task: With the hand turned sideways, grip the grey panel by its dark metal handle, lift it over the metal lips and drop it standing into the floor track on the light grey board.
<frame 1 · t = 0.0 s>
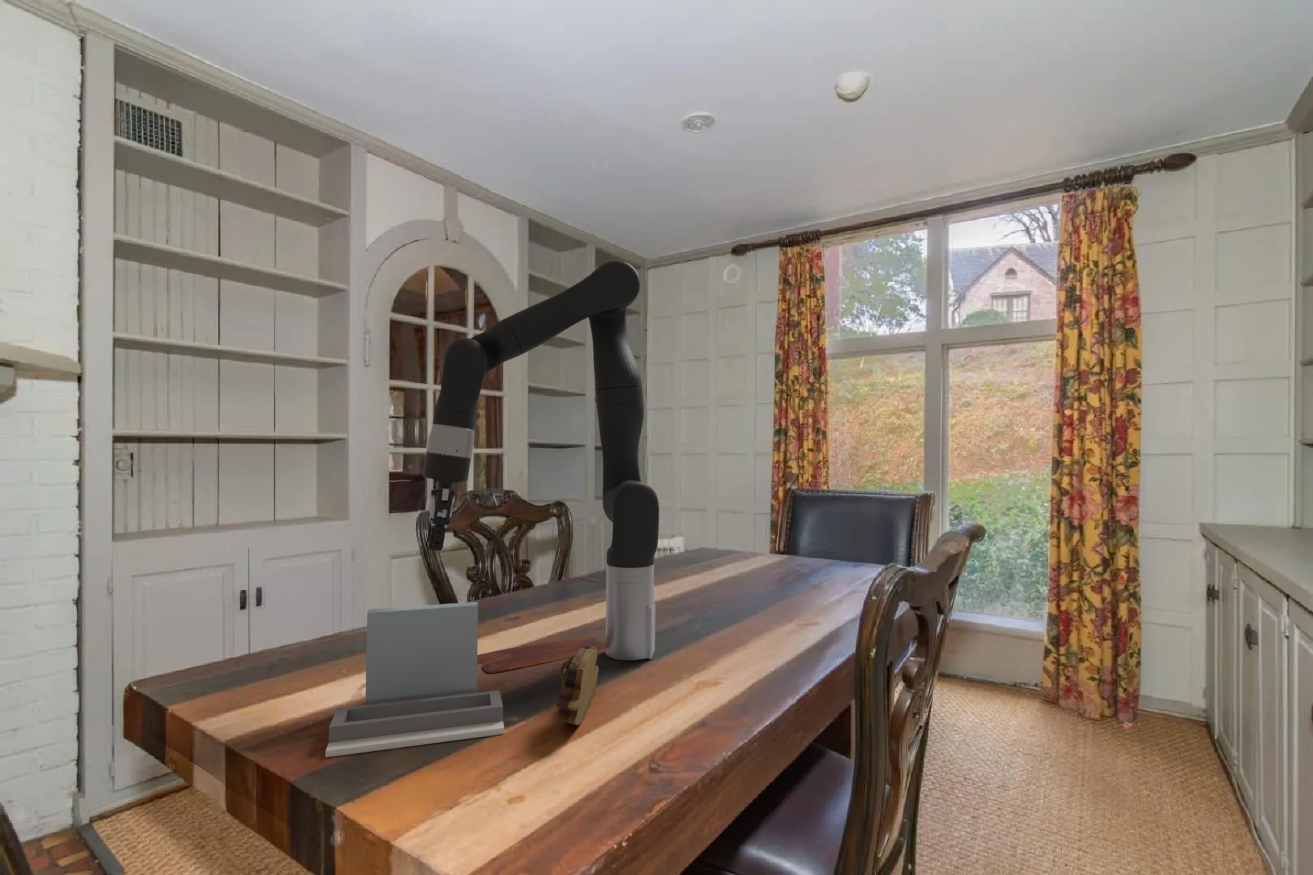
hand: (434, 546, 108), 22 cm above the table, tool pointing down, fingers open, 8 cm apart
track: (420, 727, 88), on the table
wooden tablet: (545, 657, 121), on the table
grey panel: (422, 701, 97), on the table
wooden carving: (577, 719, 91), on the table
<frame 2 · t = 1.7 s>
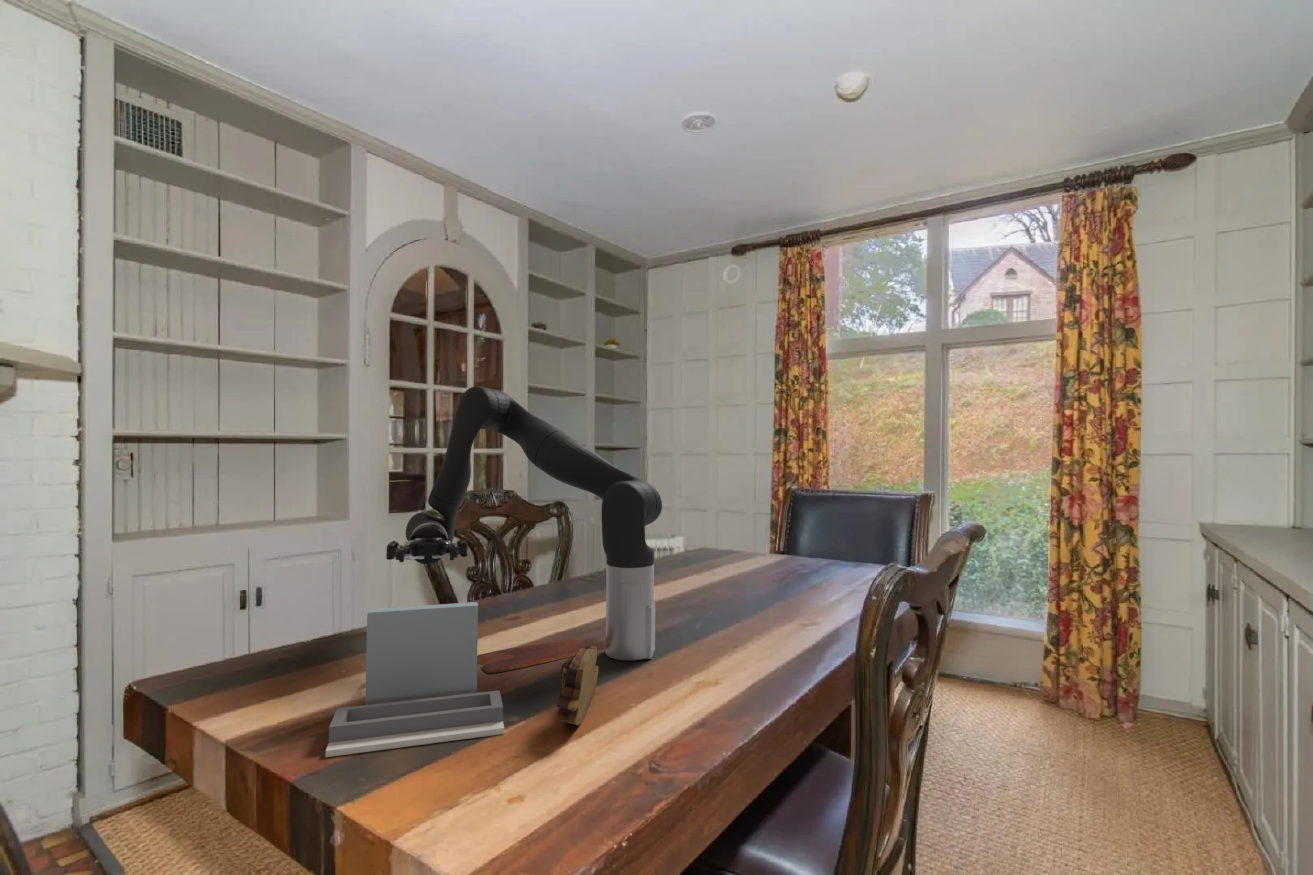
hand: (427, 555, 112), 20 cm above the table, tool horizontal, fingers open, 8 cm apart
nothing on the table moved.
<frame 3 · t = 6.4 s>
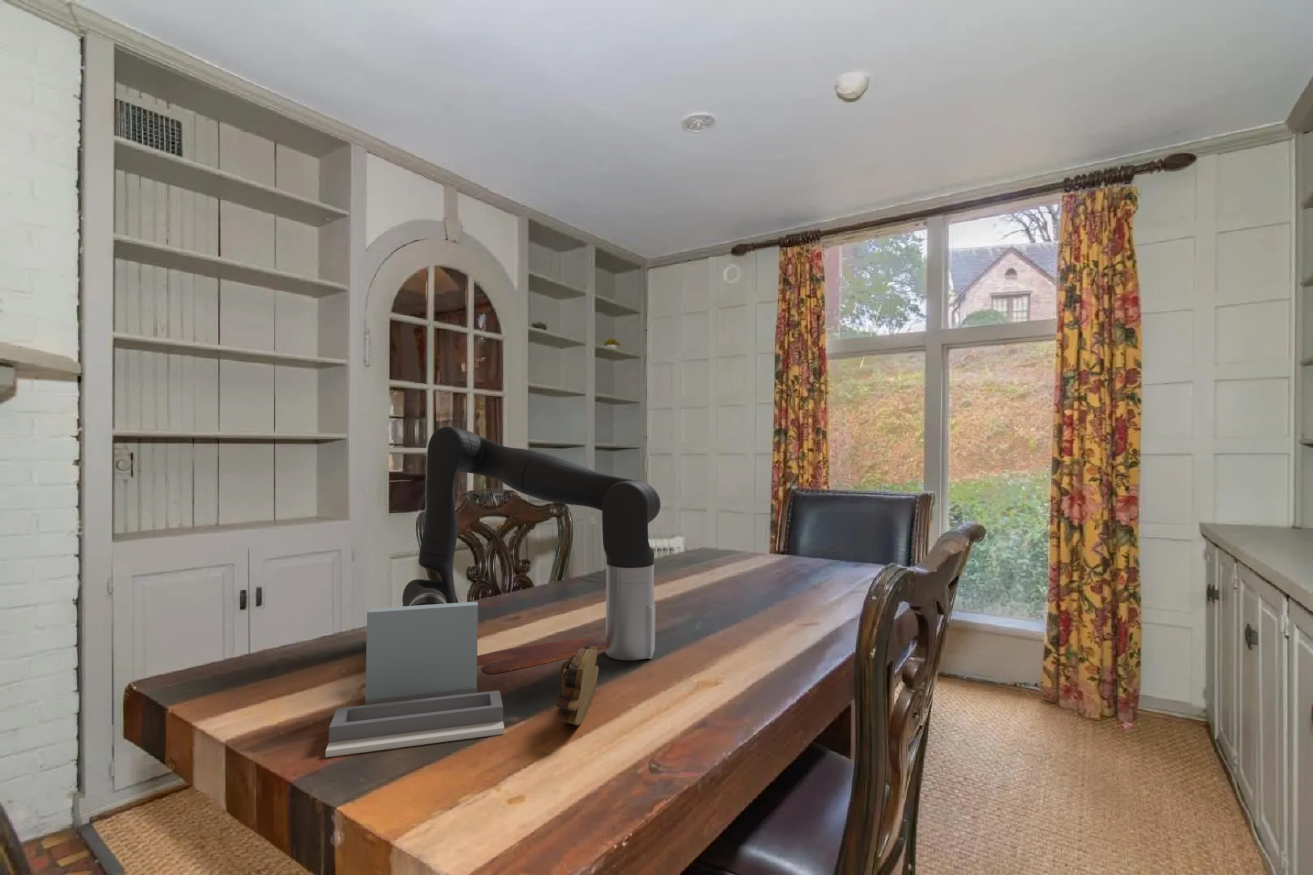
hand: (424, 643, 100), 8 cm above the table, tool horizontal, fingers closed on grey panel, 2 cm apart
grey panel: (422, 700, 97), on the table, touching gripper
everything else where it was.
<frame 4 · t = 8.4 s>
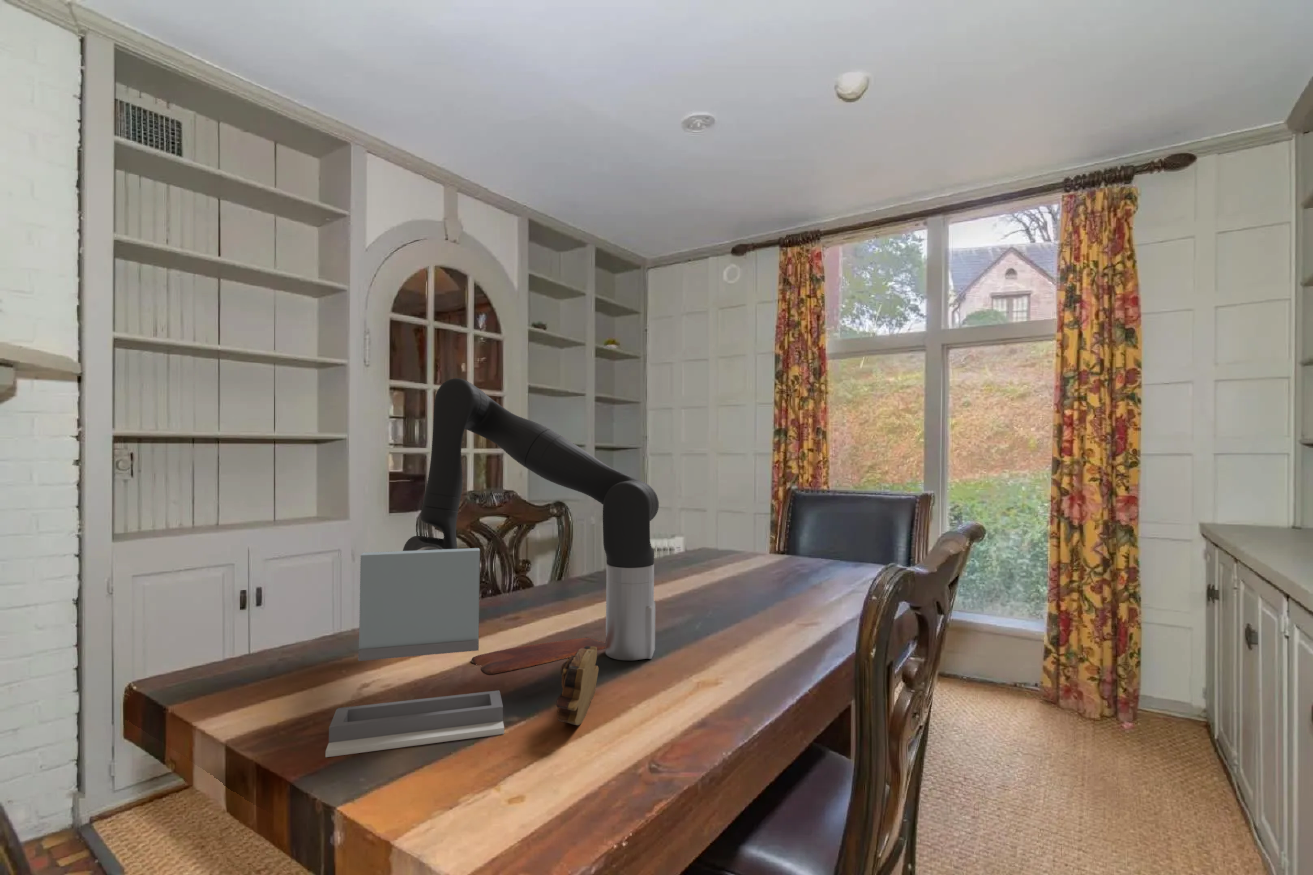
hand: (422, 592, 93), 18 cm above the table, tool horizontal, fingers closed on grey panel, 2 cm apart
grey panel: (420, 652, 91), point 10 cm above the table, touching gripper
everything else where it was.
when the fingers open (10 cm above the table, at t = 10.8 s): grey panel stays where it is, resting on track.
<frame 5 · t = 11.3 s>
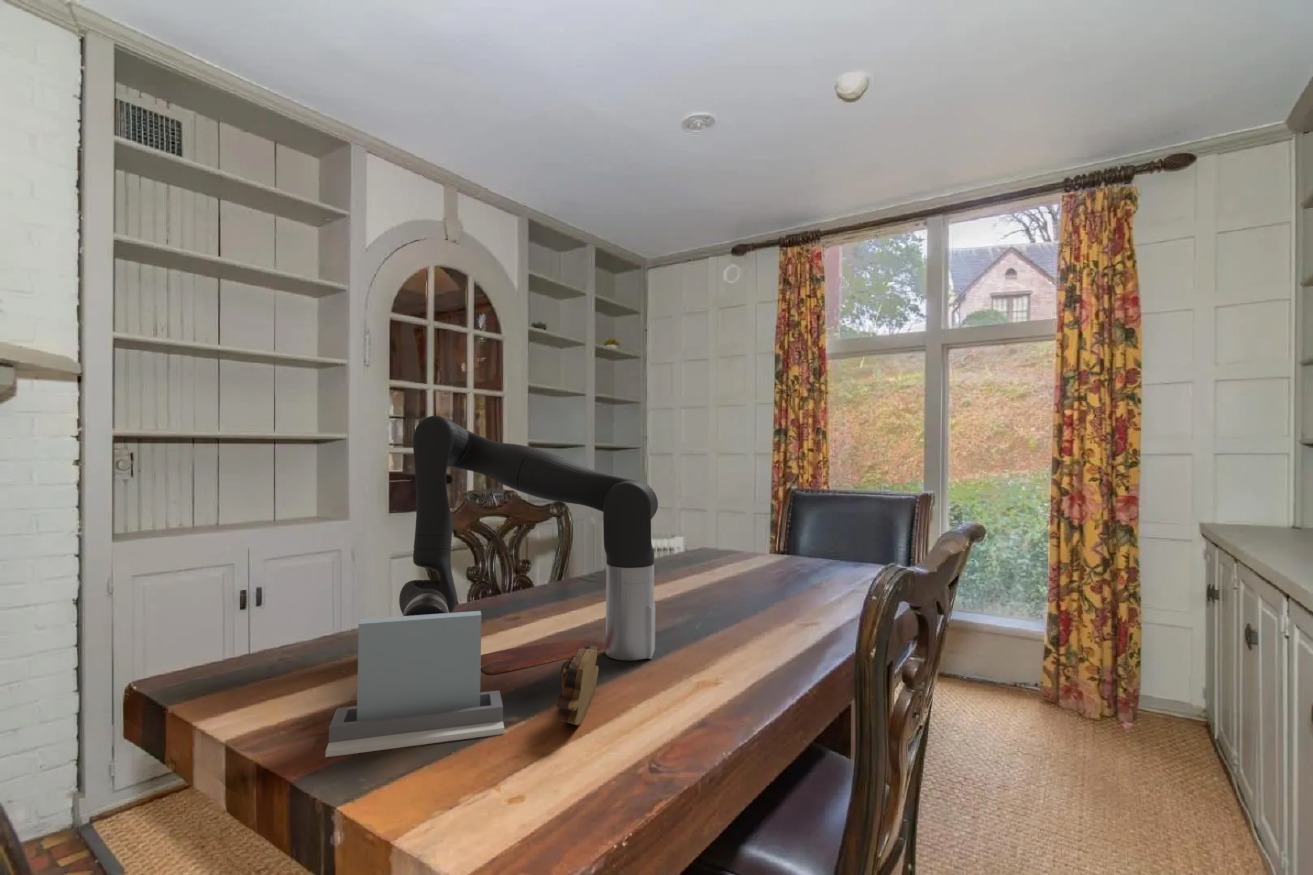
hand: (422, 648, 91), 10 cm above the table, tool horizontal, fingers open, 7 cm apart
grey panel: (420, 720, 88), point 1 cm above the table, touching track
everything else where it was.
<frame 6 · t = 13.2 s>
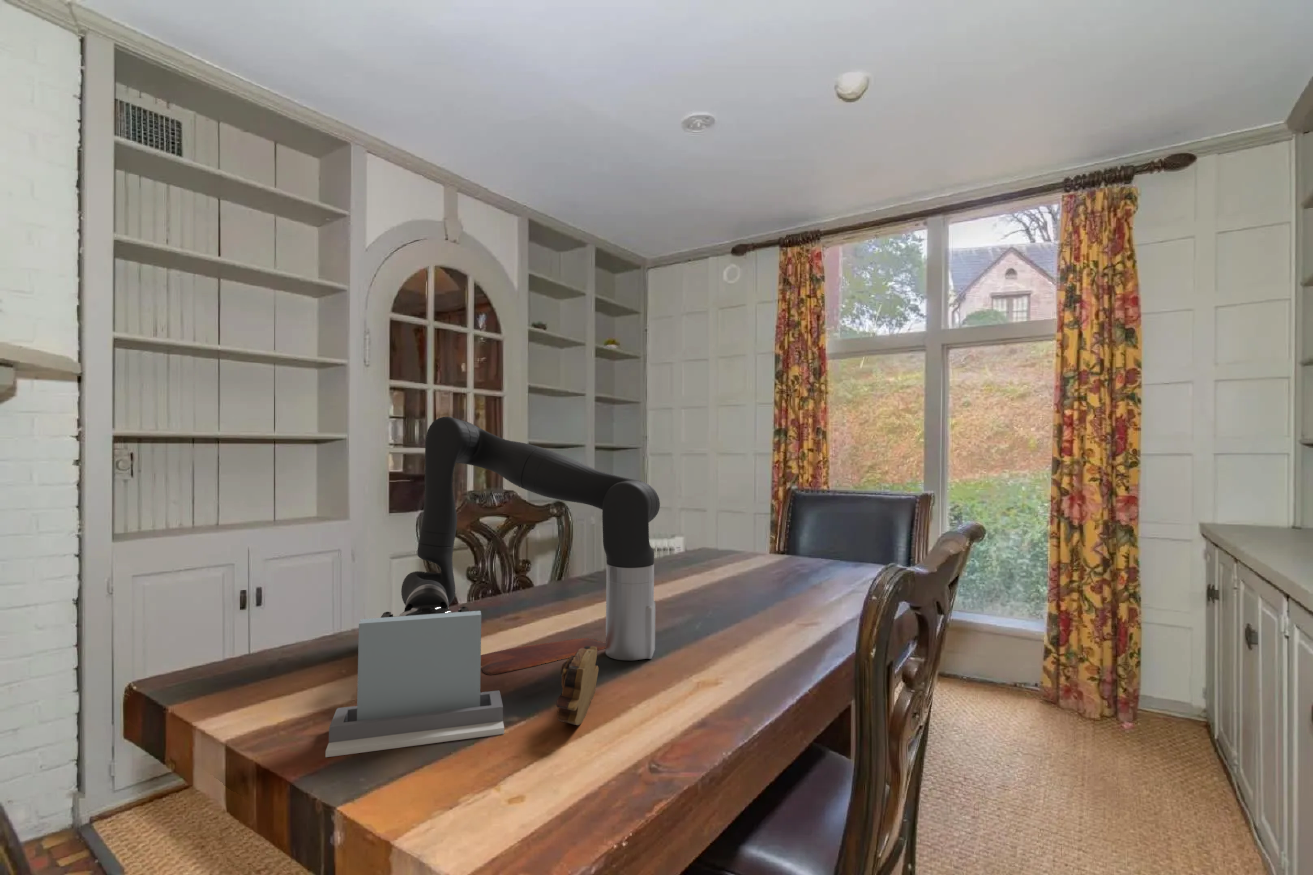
hand: (424, 632, 99), 10 cm above the table, tool horizontal, fingers open, 8 cm apart
nothing on the table moved.
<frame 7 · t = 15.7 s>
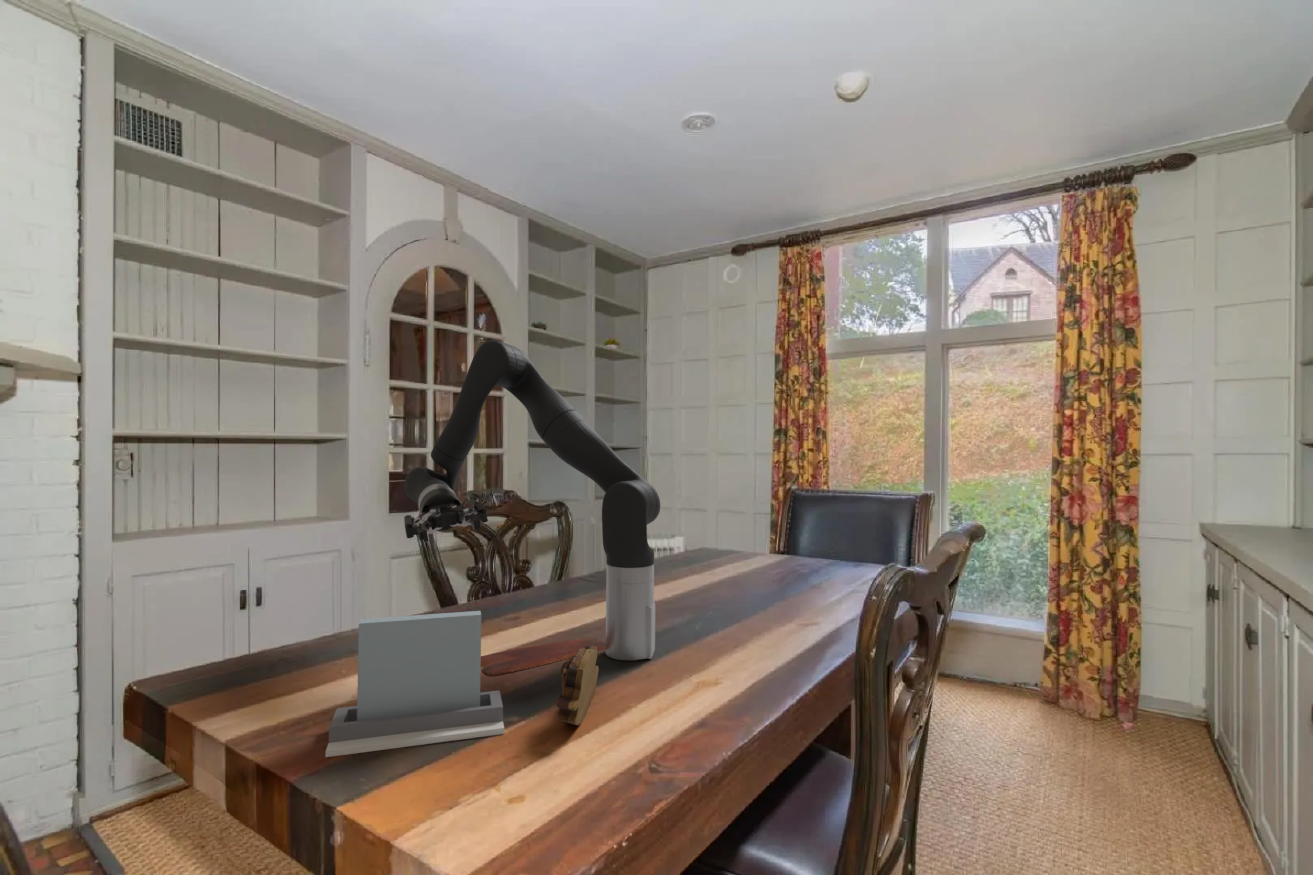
hand: (451, 531, 109), 25 cm above the table, tool horizontal, fingers open, 8 cm apart
nothing on the table moved.
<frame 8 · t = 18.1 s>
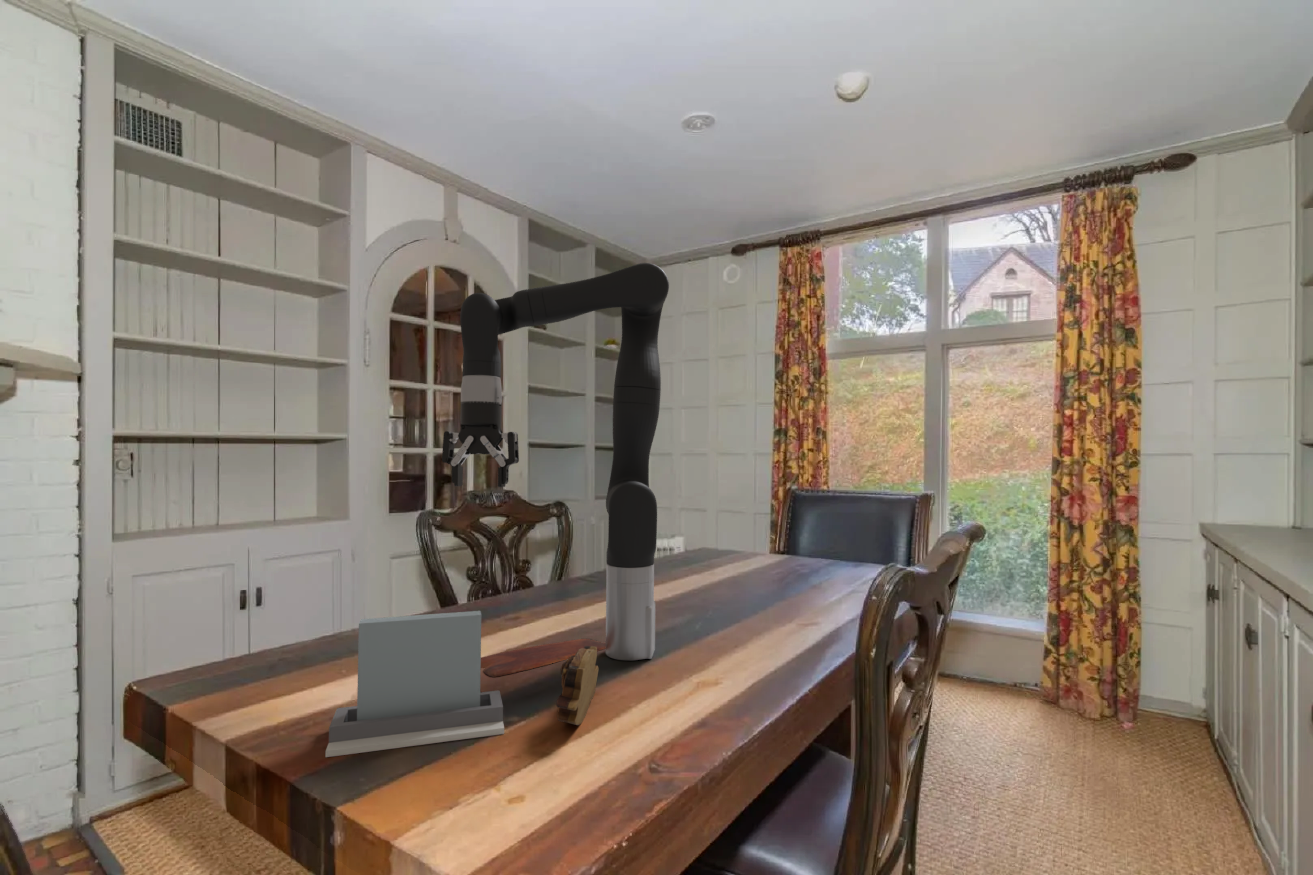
hand: (480, 486, 119), 32 cm above the table, tool pointing down, fingers open, 8 cm apart
at the end: grey panel 0.4 cm off-centre on the track, point 0.8 cm above the track's base; grey panel tilted 0°; the gripper is holding nothing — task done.
